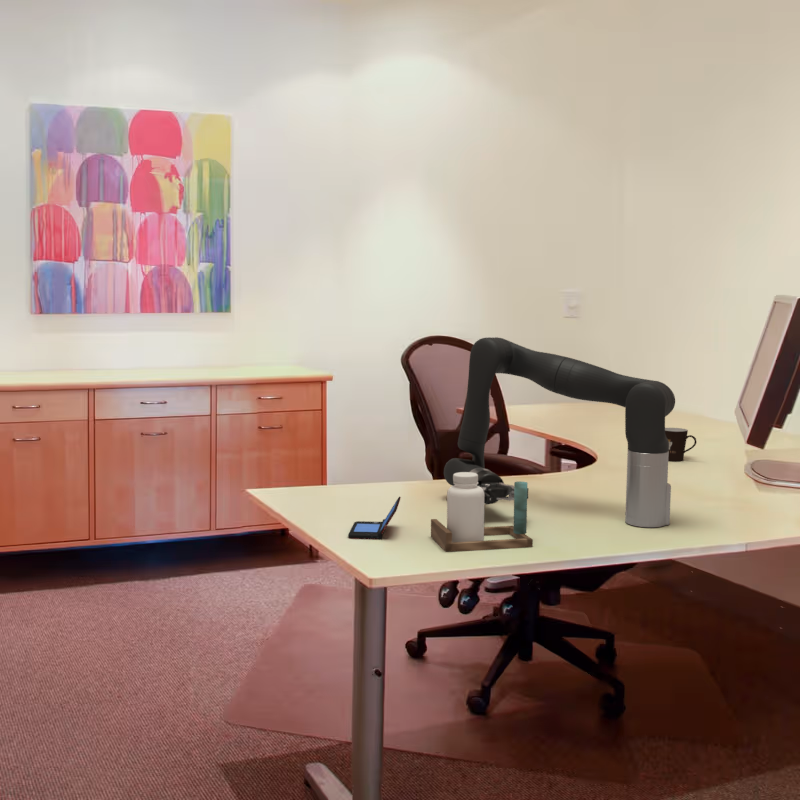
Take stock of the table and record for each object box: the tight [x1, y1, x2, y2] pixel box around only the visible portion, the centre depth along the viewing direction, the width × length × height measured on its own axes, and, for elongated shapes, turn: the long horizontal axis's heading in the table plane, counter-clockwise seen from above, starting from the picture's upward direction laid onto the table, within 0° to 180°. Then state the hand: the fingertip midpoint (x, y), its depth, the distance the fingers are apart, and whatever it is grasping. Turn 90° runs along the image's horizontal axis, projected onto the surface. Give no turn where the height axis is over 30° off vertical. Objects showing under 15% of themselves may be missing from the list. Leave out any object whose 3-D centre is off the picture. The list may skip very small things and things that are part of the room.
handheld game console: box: [347, 496, 402, 540], centre depth 210 cm, size 12×11×7 cm
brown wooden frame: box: [430, 481, 534, 553], centre depth 202 cm, size 20×12×13 cm, turn 103°
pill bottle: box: [446, 472, 485, 542], centre depth 201 cm, size 8×8×15 cm
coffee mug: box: [665, 427, 697, 463], centre depth 304 cm, size 12×9×10 cm
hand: (506, 499), depth 213 cm, fingers open, 8 cm apart
